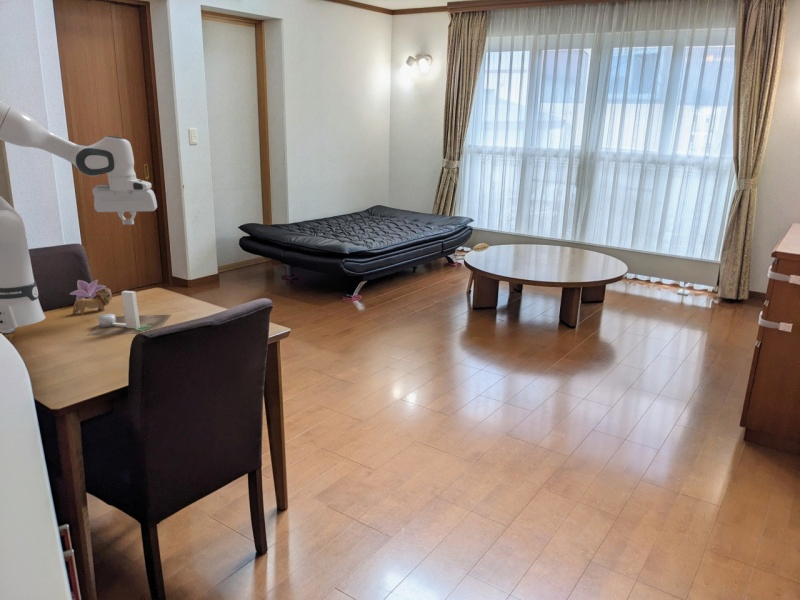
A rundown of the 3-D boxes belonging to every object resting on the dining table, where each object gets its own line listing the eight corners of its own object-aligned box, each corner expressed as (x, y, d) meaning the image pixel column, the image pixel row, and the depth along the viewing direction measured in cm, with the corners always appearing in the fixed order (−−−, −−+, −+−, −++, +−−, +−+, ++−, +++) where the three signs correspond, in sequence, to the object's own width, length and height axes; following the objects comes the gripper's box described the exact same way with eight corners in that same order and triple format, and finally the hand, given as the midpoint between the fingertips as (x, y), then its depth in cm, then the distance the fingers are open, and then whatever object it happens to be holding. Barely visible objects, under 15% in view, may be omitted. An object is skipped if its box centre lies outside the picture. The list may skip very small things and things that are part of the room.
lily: (113, 301, 233) (104, 278, 233) (104, 297, 221) (94, 273, 221) (82, 313, 230) (73, 290, 230) (72, 310, 218) (61, 286, 219)
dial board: (87, 339, 188) (86, 334, 187) (109, 320, 206) (108, 316, 205) (156, 337, 190) (156, 332, 189) (172, 318, 208) (171, 313, 207)
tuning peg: (95, 326, 195) (90, 291, 191) (107, 321, 199) (101, 287, 196) (133, 330, 191) (128, 294, 188) (143, 325, 196) (139, 290, 192)
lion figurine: (111, 309, 218) (108, 285, 216) (117, 312, 215) (113, 288, 212) (68, 318, 209) (63, 293, 206) (73, 322, 205) (68, 296, 202)
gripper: (88, 185, 202) (94, 226, 206) (150, 184, 204) (155, 225, 208) (95, 184, 208) (101, 223, 212) (155, 183, 210) (160, 222, 214)
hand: (128, 224), depth 210 cm, fingers closed
